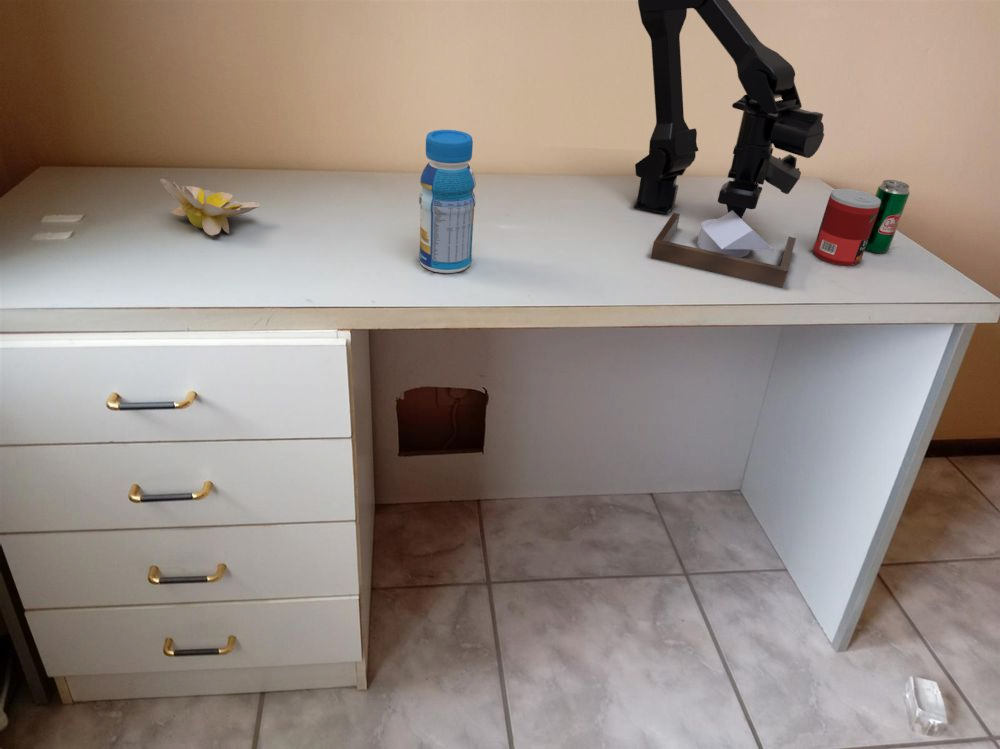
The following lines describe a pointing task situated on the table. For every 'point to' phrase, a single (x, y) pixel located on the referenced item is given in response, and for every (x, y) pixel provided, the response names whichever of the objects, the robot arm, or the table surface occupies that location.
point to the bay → (719, 258)
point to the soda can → (887, 214)
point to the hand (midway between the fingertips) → (734, 227)
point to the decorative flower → (206, 207)
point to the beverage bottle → (447, 202)
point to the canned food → (846, 226)
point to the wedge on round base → (729, 236)
